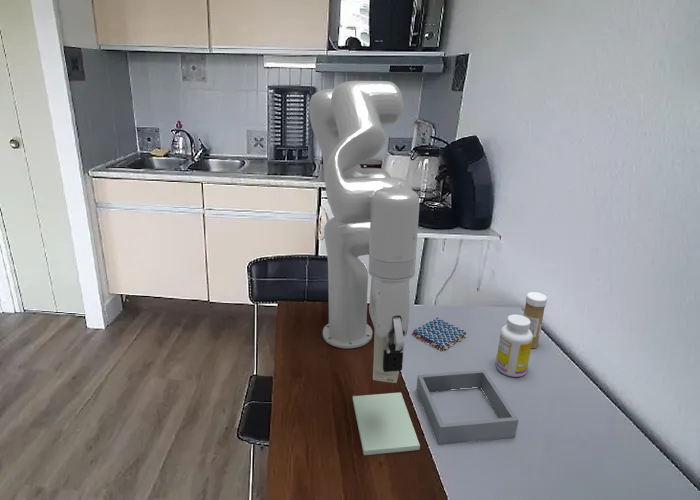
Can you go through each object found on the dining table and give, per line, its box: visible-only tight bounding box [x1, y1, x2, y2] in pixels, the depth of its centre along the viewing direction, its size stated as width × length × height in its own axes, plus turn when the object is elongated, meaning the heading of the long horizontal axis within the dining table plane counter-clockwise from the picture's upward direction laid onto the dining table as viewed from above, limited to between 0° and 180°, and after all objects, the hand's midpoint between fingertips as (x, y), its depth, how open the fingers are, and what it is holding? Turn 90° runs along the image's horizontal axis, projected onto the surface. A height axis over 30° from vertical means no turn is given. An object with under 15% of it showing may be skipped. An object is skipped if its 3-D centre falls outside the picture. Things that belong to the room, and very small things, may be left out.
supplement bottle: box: [495, 314, 533, 378], centre depth 97 cm, size 7×7×13 cm
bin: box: [416, 369, 519, 445], centre depth 86 cm, size 15×15×4 cm
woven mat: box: [411, 317, 467, 351], centre depth 112 cm, size 10×11×2 cm
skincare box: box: [372, 319, 400, 384], centre depth 77 cm, size 6×4×12 cm
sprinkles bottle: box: [523, 291, 548, 349], centre depth 106 cm, size 5×5×14 cm
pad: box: [352, 392, 421, 456], centre depth 83 cm, size 14×10×1 cm
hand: (387, 356), depth 78 cm, fingers closed on skincare box, 7 cm apart
